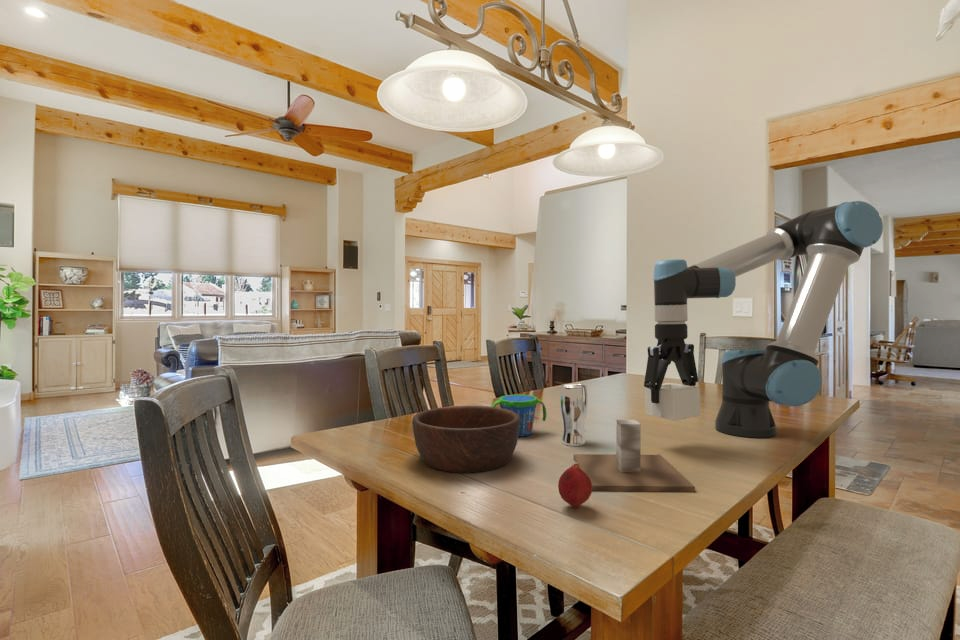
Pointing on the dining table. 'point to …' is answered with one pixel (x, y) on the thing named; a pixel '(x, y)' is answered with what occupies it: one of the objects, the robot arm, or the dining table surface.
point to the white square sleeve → (676, 401)
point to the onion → (575, 486)
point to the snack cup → (522, 410)
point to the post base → (632, 480)
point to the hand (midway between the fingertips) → (672, 413)
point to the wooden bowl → (466, 437)
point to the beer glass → (573, 413)
